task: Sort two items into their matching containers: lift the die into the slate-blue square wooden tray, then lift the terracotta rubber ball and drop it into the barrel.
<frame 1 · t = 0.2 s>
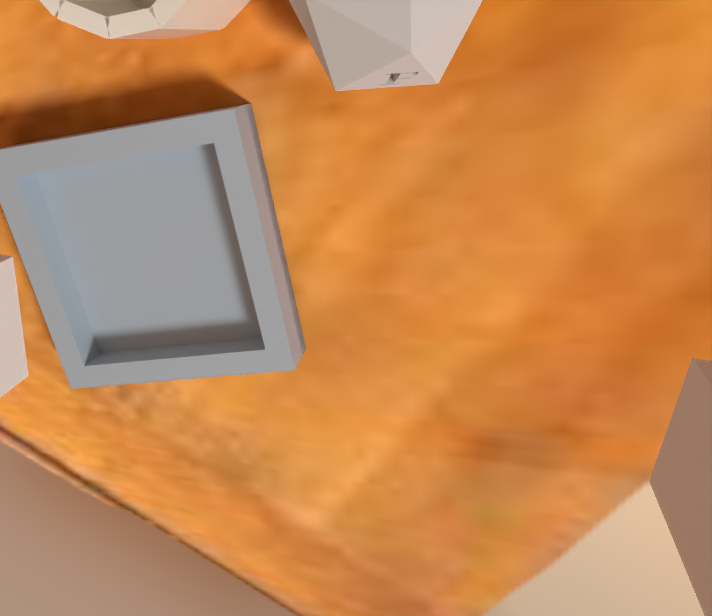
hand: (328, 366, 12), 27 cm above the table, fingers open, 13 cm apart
tray: (164, 249, 42), on the table
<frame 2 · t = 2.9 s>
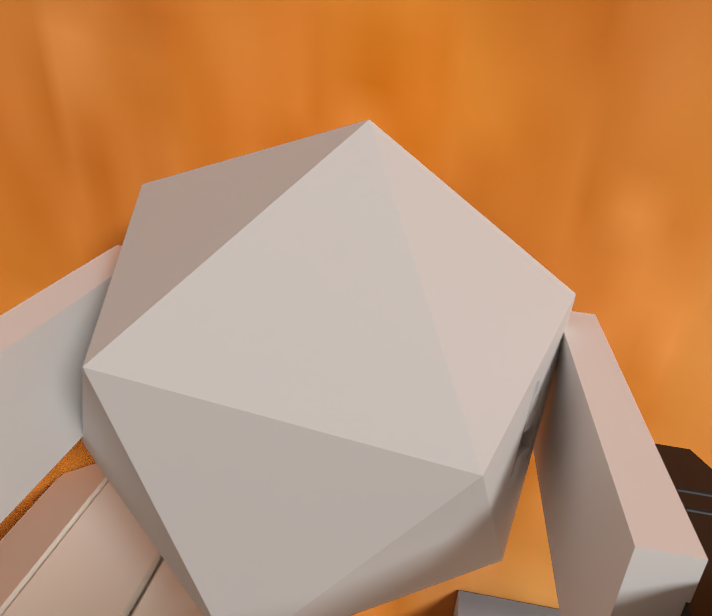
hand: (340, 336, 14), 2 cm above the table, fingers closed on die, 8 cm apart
barrel: (173, 582, 21), on the table
die: (354, 291, 16), on the table, touching gripper
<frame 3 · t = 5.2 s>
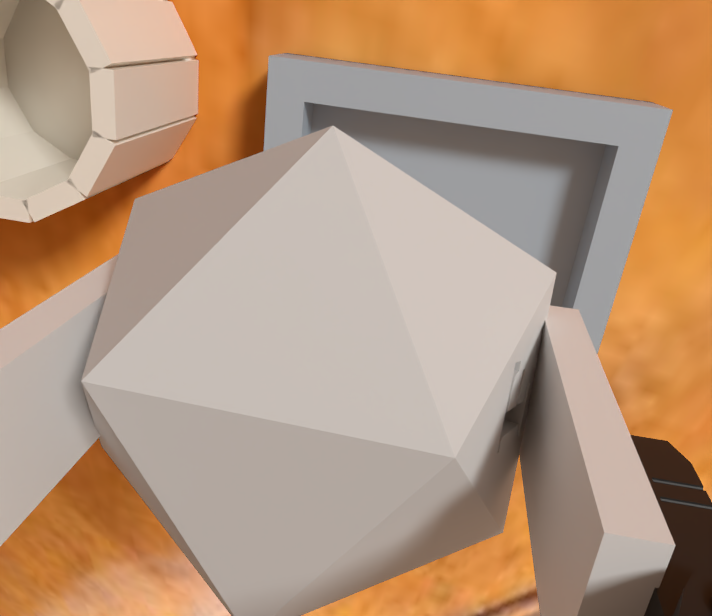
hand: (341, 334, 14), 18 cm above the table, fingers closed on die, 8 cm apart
tray: (434, 249, 31), on the table
barrel: (98, 73, 30), on the table
die: (352, 282, 17), point 15 cm above the table, touching gripper
when the fingers open (11 cm above the table, at t = 6.5 s): die drops 6 cm, resting on tray.
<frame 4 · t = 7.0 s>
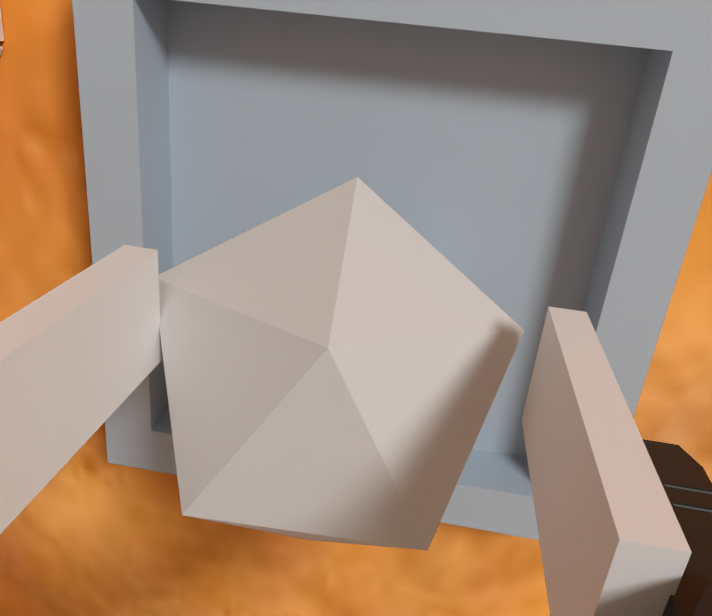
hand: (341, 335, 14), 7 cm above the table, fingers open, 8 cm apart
tray: (377, 243, 20), on the table
die: (352, 231, 18), point 2 cm above the table, touching gripper, tray
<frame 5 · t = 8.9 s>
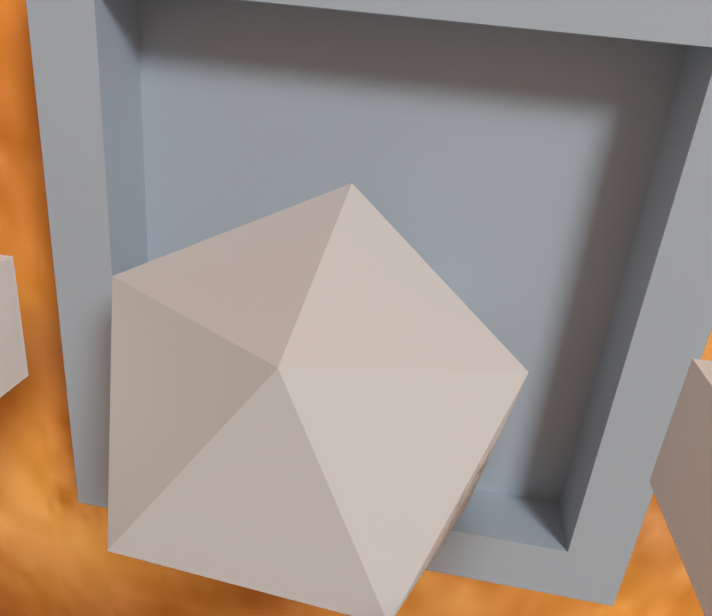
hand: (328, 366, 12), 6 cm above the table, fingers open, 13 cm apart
tray: (375, 263, 18), on the table
die: (351, 248, 16), point 2 cm above the table, touching tray
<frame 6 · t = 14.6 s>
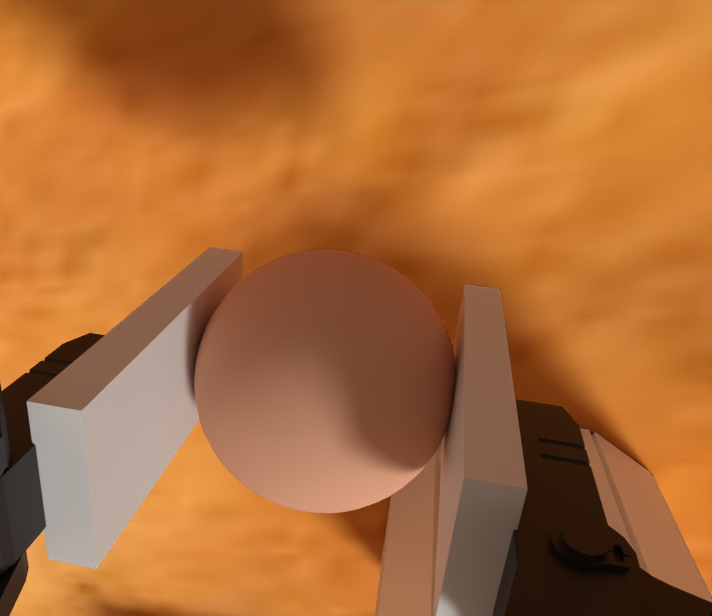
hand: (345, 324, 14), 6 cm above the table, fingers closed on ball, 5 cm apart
ball: (346, 326, 15), point 5 cm above the table, touching gripper
barrel: (522, 539, 23), on the table
when the fingers open (9 cm above the table, at t = 16.9 s): ball drops 7 cm, resting on barrel.
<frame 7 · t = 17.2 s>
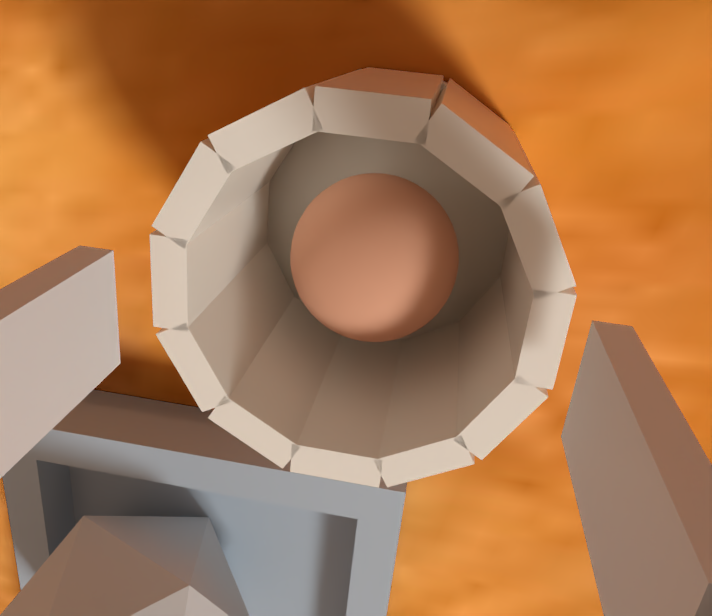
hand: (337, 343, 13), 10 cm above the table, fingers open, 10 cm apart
ball: (382, 235, 21), point 1 cm above the table, touching barrel
tray: (218, 556, 30), on the table
barrel: (388, 220, 22), on the table
die: (225, 583, 28), point 2 cm above the table, touching tray
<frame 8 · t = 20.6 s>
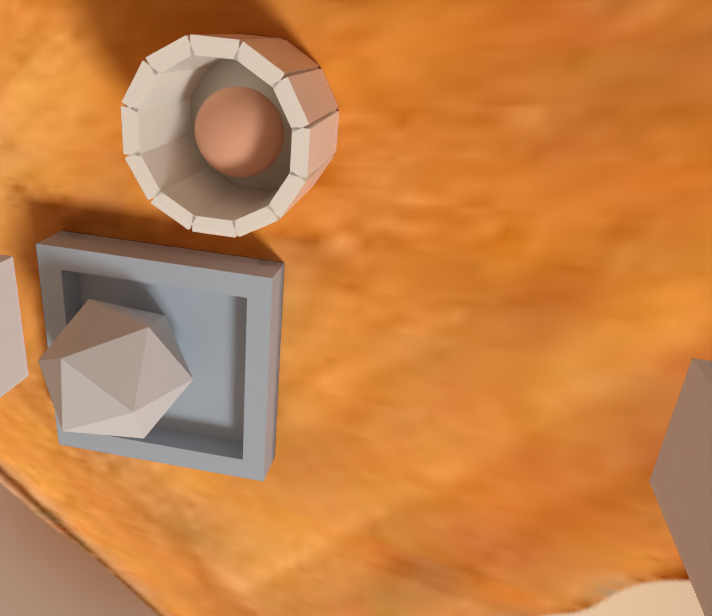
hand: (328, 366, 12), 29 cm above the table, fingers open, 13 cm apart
ball: (254, 127, 39), point 1 cm above the table, touching barrel
tray: (173, 349, 47), on the table
barrel: (260, 121, 40), on the table
die: (175, 357, 45), point 2 cm above the table, touching tray
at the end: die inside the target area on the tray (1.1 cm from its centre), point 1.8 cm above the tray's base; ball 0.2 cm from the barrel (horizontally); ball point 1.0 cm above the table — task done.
